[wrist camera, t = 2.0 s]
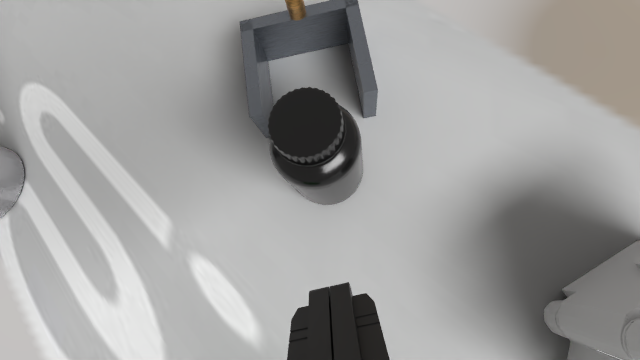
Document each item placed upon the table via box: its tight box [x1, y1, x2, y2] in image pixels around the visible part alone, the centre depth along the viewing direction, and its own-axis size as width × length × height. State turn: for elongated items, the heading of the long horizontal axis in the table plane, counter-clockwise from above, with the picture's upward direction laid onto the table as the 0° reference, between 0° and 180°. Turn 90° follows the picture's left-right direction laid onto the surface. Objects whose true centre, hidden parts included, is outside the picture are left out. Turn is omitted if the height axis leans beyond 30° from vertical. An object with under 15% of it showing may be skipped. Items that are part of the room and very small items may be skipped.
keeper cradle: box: [240, 0, 378, 137], centre depth 29 cm, size 10×11×9 cm
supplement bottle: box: [268, 87, 363, 205], centre depth 25 cm, size 7×7×12 cm
